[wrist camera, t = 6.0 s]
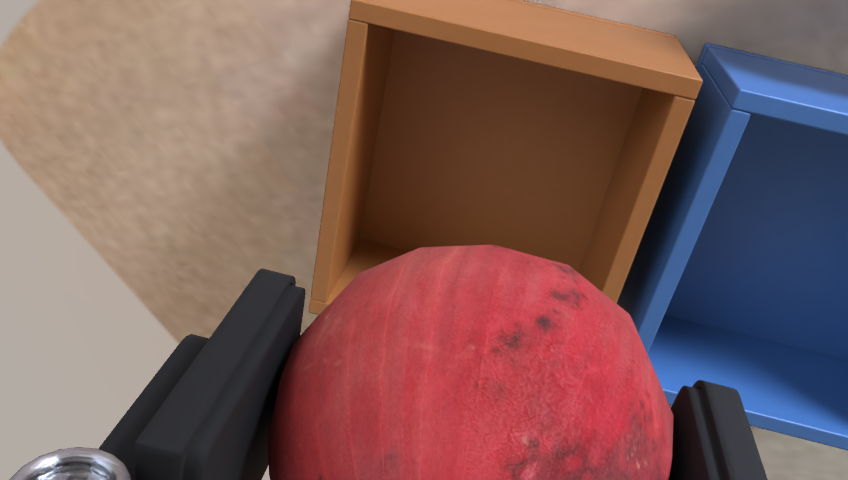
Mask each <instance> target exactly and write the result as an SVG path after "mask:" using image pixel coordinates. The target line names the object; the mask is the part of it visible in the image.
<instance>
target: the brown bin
mask: <svg viewBox="0 0 848 480" xmlns="http://www.w3.org/2000/svg"><path fill="white" fill-rule="evenodd" d="M702 83H703V80H702V78H701V77H700V75H699V73H698V72H697V70H696V68H695V67H694V65H693V63H692V62H691V60H690V58H689V57H688V55H687V53H686V52H685V50H684V48H683V47H682V45H681V43H680V42H679V40H678V39H677V37H676V36H675V35H671V34H667V33H662V32H658V31H653V30H649V29H645V28H640V27H636V26H632V25H627V24H623V23H619V22H614V21H610V20H606V19H601V18H597V17H593V16H588V15H584V14H580V13H575V12H571V11H567V10H562V9H558V8H554V7H549V6H545V5H541V4H536V3H532V2H527V1H523V0H351V4H350V11H349V20H348V26H347V33H346V40H345V48H344V55H343V63H342V70H341V77H340V85H339V92H338V100H337V107H336V114H335V122H334V129H333V137H332V144H331V151H330V159H329V166H328V173H327V181H326V188H325V196H324V203H323V210H322V218H321V225H320V233H319V240H318V247H317V255H316V262H315V270H314V277H313V284H312V292H311V300H310V307H309V312H310V313H314V314H318V315H320V314H321V313H322V311H323V310H324V309H325V308H326V307H327V306H328V305H329V304H330V303H331V302H332V301H333V300H334V299H335V298H336V297H337V296H338V295H339V294H340V292H341V291H342V290H343V289H344V288H345V287H346V286H347V285H348V284H349V283H350V282H351V281H352V280H353V279H354V278H355V277H356V276H357V275H358V273H361V272H363V271H365V270H368V269H370V268H372V267H375V266H377V265H380V264H382V263H384V262H387V261H389V260H392V259H394V258H396V257H399V256H401V255H403V254H406V253H408V252H411V251H413V250H415V249H418V248H420V247H444V246H468V245H497V246H500V247H504V248H508V249H511V250H515V251H519V252H522V253H526V254H530V255H534V256H537V257H541V258H545V259H548V260H552V261H556V262H559V263H563V264H567V265H569V266H571V267H572V268H573V269H574V270H575V271H577V272H578V273H579V274H580V275H582V276H583V277H584V278H585V279H587V280H588V281H589V282H590V283H592V284H593V285H594V286H595V287H597V288H598V289H599V290H600V291H601V292H603V293H604V294H605V295H606V296H608V297H609V298H610V299H611V300H613V301H614V302H615V303H617V301H618V298H619V296H620V293H621V291H622V288H623V285H624V283H625V280H626V278H627V275H628V273H629V270H630V267H631V265H632V262H633V260H634V257H635V255H636V252H637V249H638V247H639V244H640V242H641V239H642V237H643V234H644V231H645V229H646V226H647V224H648V221H649V219H650V216H651V213H652V211H653V208H654V206H655V203H656V201H657V198H658V195H659V193H660V190H661V188H662V185H663V183H664V180H665V178H666V175H667V172H668V170H669V167H670V165H671V162H672V160H673V157H674V154H675V152H676V149H677V147H678V144H679V142H680V139H681V136H682V134H683V131H684V129H685V126H686V124H687V121H688V118H689V116H690V113H691V111H692V108H693V106H694V103H695V99H696V98H697V95H698V93H699V90H700V88H701V85H702Z"/></svg>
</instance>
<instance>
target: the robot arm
mask: <svg viewBox="0 0 848 480" xmlns="http://www.w3.org/2000/svg"><path fill="white" fill-rule="evenodd" d="M295 284H296V282H295V277H294V276H290V275H286V274H282V273H278V272H274V271H270V270H266V269H260V270H259V271H258V272H257V273H256V275H255V276H254V277H253V279H252V280H251V281H250V283H249V284H248V286H247V287H246V288H245V290H244V291H243V293H242V294H241V295H240V297H239V298H238V300H237V301H236V302H235V304H234V305H233V307H232V308H231V309H230V311H229V312H228V314H227V315H226V316H225V318H224V319H223V320H222V322H221V323H220V325H219V326H218V327H217V329H216V330H215V332H214V333H213V334H212V336H211V337H210V339H208V338H205V337H201V336H197V335H193V334H190V335H188V336H186V337H185V338H184V339H183V340H182V341H181V342H180V344H179V345H178V346H177V348H176V349H175V350H174V352H173V353H172V354H171V355H170V357H169V358H168V359H167V361H166V362H165V363H164V364H163V366H162V367H161V369H160V370H159V371H158V372H157V374H156V375H155V376H154V377H153V379H152V380H151V381H150V383H149V384H148V385H147V387H146V388H145V389H144V390H143V392H142V393H141V394H140V396H139V397H138V398H137V399H136V401H135V402H134V403H133V405H132V406H131V407H130V409H129V410H128V411H127V412H126V414H125V415H124V416H123V418H122V419H121V420H120V421H119V423H118V424H117V425H116V427H115V428H114V429H113V431H112V432H111V433H110V435H109V436H108V437H107V438H106V440H105V441H104V442H103V444H102V445H101V446H100V447H99V449H93V448H83V447H75V448H68V449H59V450H57V451H54V452H50V453H48V454H45V455H42V456H39V457H38V458H36V459H34V460H32V461H31V462H29V463H27V464H26V465H24V466H23V467H22V468H21V469H20V470H18V471H17V472H16V473H15V474H14V475H13V476H12V477H11V478H10V479H9V480H261V479H262V477H263V475H264V473H265V471H266V469H267V466H268V465H269V459H268V436H269V431H270V426H271V421H272V416H273V412H274V407H275V402H276V397H277V392H278V387H279V382H280V379H281V376H282V373H283V370H284V368H285V365H286V362H287V360H288V357H289V354H290V351H291V349H292V346H293V344H294V343H295V342H296V341H297V340H298V338H299V337H300V331H301V323H302V316H303V308H304V300H305V289H304V288H301V287H297V286H295ZM671 411H672V413H673V447H672V462H671V469H670V476H669V480H767V477H766V474H765V471H764V468H763V465H762V462H761V458H760V455H759V452H758V449H757V446H756V443H755V440H754V437H753V434H752V431H751V428H750V425H749V422H748V419H747V416H746V413H745V410H744V407H743V404H742V401H741V398H740V395H739V393H738V391H737V390H736V389H734V388H731V387H727V386H723V385H719V384H715V383H711V382H707V381H703V380H698V381H696V382H695V383H694V385H693V386H692V387H689V386H686V385H685V386H683V387H682V388H681V389H680V390H679V392H678V394H677V396H676V398H675V401H674V403H673V405H672V407H671Z"/></svg>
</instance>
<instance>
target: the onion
mask: <svg viewBox="0 0 848 480" xmlns="http://www.w3.org/2000/svg"><path fill="white" fill-rule="evenodd" d="M672 447H673V413H672V411H671V408H670V406H669V404H668V401H667V399H666V396H665V394H664V392H663V389H662V387H661V384H660V382H659V380H658V377H657V375H656V373H655V370H654V368H653V366H652V364H651V361H650V359H649V357H648V354H647V352H646V350H645V348H644V345H643V343H642V341H641V338H640V336H639V334H638V332H637V329H636V327H635V325H634V323H633V320H632V318H631V316H630V314H629V313H627V312H626V311H625V310H624V309H623V308H621V307H620V306H619V305H618V304H616V303H615V302H614V301H613V300H611V299H610V298H609V297H608V296H606V295H605V294H604V293H603V292H601V291H600V290H599V289H598V288H597V287H595V286H594V285H593V284H592V283H590V282H589V281H588V280H587V279H585V278H584V277H583V276H582V275H580V274H579V273H578V272H577V271H575V270H574V269H573V268H572V267H571V266H569V265H567V264H563V263H559V262H556V261H552V260H548V259H545V258H541V257H537V256H534V255H530V254H526V253H522V252H519V251H515V250H511V249H508V248H504V247H500V246H497V245H468V246H444V247H420V248H418V249H415V250H413V251H411V252H408V253H406V254H403V255H401V256H399V257H396V258H394V259H392V260H389V261H387V262H384V263H382V264H380V265H377V266H375V267H372V268H370V269H368V270H365V271H363V272H361V273H358V275H357V276H356V277H355V278H354V279H353V280H352V281H351V282H350V283H349V284H348V285H347V286H346V287H345V288H344V289H343V290H342V291H341V292H340V294H339V295H338V296H337V297H336V298H335V299H334V300H333V301H332V302H331V303H330V304H329V305H328V306H327V307H326V308H325V309H324V310H323V311H322V313H321V314H320V315H319V316H318V317H317V318H316V319H315V320H314V321H313V322H312V324H311V325H310V326H309V327H308V328H307V329H306V330H305V332H304V333H303V334H302V335H301V336H300V337H299V338H298V340H297V341H296V342H295V343H294V344H293V346H292V349H291V351H290V354H289V357H288V360H287V362H286V365H285V368H284V370H283V373H282V376H281V379H280V382H279V387H278V392H277V397H276V402H275V407H274V412H273V416H272V421H271V426H270V431H269V436H268V459H269V475H270V480H669V476H670V469H671V462H672Z"/></svg>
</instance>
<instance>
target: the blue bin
mask: <svg viewBox="0 0 848 480" xmlns="http://www.w3.org/2000/svg"><path fill="white" fill-rule="evenodd" d="M696 70H697V72H698V73H699V75H700V77H701V78H702V80H703V83H702V85H701V88H700V90H699V93H698V95H697V98H696V99H695V103H694V106H693V108H692V111H691V113H690V116H689V118H688V121H687V124H686V126H685V129H684V131H683V134H682V136H681V139H680V142H679V144H678V147H677V149H676V152H675V154H674V157H673V160H672V162H671V165H670V167H669V170H668V172H667V175H666V178H665V180H664V183H663V185H662V188H661V190H660V193H659V195H658V198H657V201H656V203H655V206H654V208H653V211H652V213H651V216H650V219H649V221H648V224H647V226H646V229H645V231H644V234H643V237H642V239H641V242H640V244H639V247H638V249H637V252H636V255H635V257H634V260H633V262H632V265H631V267H630V270H629V273H628V275H627V278H626V280H625V283H624V285H623V288H622V291H621V293H620V296H619V298H618V301H617V303H616V304H618V305H619V306H620V307H621V308H623V309H624V310H625V311H626V312H627V313H629V314H630V316H631V318H632V320H633V323H634V325H635V327H636V329H637V332H638V334H639V336H640V338H641V341H642V343H643V345H644V348H645V350H646V352H647V354H648V357H649V359H650V361H651V364H652V366H653V368H654V370H655V373H656V375H657V377H658V380H659V382H660V384H661V387H662V389H663V392H664V394H665V396H666V399H667V401H668V404H669V405H673V403H674V401H675V398H676V396H677V394H678V392H679V390H680V389H681V388H682V387H683V386H685V385H686V386H689V387H692V386H693V385H694V383H695V382H696V381H698V380H703V381H707V382H711V383H715V384H719V385H723V386H727V387H731V388H734V389H736V390H737V391H738V393H739V395H740V398H741V401H742V404H743V407H744V410H745V413H746V416H747V419H748V422H749V425H751V426H755V427H759V428H762V429H766V430H770V431H774V432H778V433H782V434H786V435H790V436H794V437H797V438H801V439H805V440H809V441H813V442H817V443H821V444H825V445H829V446H832V447H836V448H840V449H844V450H848V75H845V74H840V73H836V72H831V71H827V70H823V69H818V68H814V67H810V66H805V65H801V64H797V63H792V62H788V61H784V60H779V59H775V58H771V57H766V56H762V55H758V54H753V53H749V52H745V51H740V50H736V49H732V48H727V47H723V46H719V45H714V44H710V43H706V44H705V45H704V48H703V51H702V53H701V56H700V58H699V61H698V64H697V66H696Z"/></svg>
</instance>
